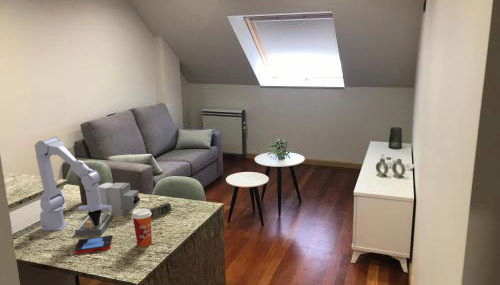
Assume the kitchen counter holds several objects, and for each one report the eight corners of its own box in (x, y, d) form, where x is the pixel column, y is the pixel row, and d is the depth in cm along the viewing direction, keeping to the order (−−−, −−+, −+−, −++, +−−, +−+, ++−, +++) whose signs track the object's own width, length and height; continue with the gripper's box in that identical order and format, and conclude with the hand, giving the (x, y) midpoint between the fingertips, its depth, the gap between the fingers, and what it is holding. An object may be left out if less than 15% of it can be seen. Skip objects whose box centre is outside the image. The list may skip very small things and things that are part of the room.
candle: (92, 204, 220) (87, 169, 215) (78, 205, 220) (74, 170, 215) (97, 199, 227) (93, 165, 222) (84, 199, 228) (80, 165, 223)
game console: (113, 237, 184) (112, 232, 183) (110, 251, 172) (109, 246, 171) (79, 241, 181) (78, 236, 180) (74, 255, 169) (73, 250, 168)
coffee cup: (144, 250, 171) (141, 217, 167) (130, 245, 175) (127, 213, 171) (158, 241, 178) (155, 210, 174) (145, 237, 182) (142, 206, 178)
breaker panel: (75, 235, 186) (73, 224, 184) (89, 219, 202) (88, 209, 201) (101, 234, 186) (100, 223, 184) (113, 218, 202) (112, 208, 201)
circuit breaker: (136, 217, 203) (133, 189, 200) (110, 215, 206) (107, 187, 203) (143, 211, 211) (140, 183, 207) (118, 209, 213) (115, 182, 210)
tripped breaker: (86, 228, 186) (86, 222, 185) (88, 226, 188) (87, 220, 187) (90, 228, 186) (89, 222, 185) (92, 226, 188) (91, 220, 187)
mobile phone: (148, 212, 198) (173, 201, 208) (145, 210, 200) (169, 200, 210) (149, 221, 199) (174, 210, 210) (146, 219, 201) (170, 209, 212)
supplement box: (119, 206, 217) (116, 184, 214) (107, 211, 211) (105, 188, 208) (110, 203, 221) (107, 181, 218) (98, 208, 215) (95, 186, 212)
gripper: (73, 201, 179) (77, 229, 183) (106, 200, 179) (109, 228, 183) (80, 195, 186) (83, 222, 189) (111, 194, 186) (114, 221, 190)
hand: (96, 225), depth 187 cm, fingers closed
